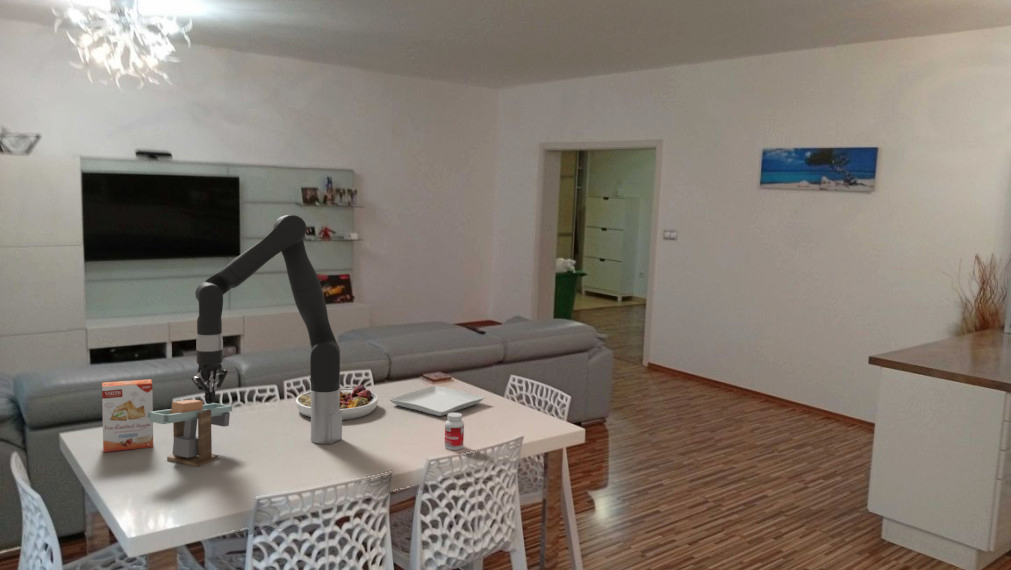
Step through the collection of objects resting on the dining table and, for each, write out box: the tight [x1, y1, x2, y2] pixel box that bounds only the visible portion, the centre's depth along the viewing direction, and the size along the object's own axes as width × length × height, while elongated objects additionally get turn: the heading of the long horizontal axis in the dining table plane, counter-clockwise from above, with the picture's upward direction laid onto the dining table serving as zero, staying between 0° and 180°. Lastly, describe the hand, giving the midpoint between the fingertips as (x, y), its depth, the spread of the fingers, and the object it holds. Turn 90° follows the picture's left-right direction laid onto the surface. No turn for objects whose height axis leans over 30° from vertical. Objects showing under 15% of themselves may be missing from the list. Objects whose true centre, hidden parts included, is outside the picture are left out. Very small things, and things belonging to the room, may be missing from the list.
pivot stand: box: [166, 410, 219, 468], centre depth 221 cm, size 12×8×16 cm, turn 68°
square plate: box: [389, 385, 486, 417], centre depth 288 cm, size 27×27×4 cm
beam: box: [148, 402, 233, 458], centre depth 220 cm, size 7×26×14 cm, turn 158°
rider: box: [171, 398, 204, 414], centre depth 218 cm, size 4×8×4 cm, turn 158°
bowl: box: [295, 384, 379, 421], centre depth 277 cm, size 30×30×8 cm
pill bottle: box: [444, 412, 465, 451], centre depth 240 cm, size 6×6×11 cm
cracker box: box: [101, 378, 154, 453], centre depth 229 cm, size 14×6×21 cm, turn 117°
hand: (210, 402), depth 227 cm, fingers closed
